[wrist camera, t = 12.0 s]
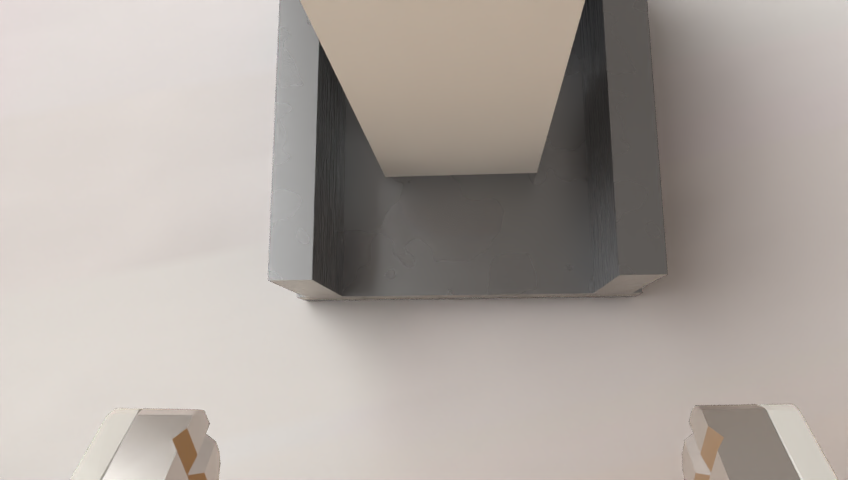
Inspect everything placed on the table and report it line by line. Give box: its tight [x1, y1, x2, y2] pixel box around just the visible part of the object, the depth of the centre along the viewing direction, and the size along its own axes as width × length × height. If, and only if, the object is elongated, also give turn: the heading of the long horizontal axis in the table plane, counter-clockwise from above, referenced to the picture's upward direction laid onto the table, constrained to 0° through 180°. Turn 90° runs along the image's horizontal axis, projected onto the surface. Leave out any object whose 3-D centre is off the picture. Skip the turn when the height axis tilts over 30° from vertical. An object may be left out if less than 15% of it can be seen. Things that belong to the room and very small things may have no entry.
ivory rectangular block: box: [300, 0, 585, 177], centre depth 17 cm, size 5×4×11 cm
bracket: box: [268, 0, 668, 300], centre depth 20 cm, size 11×12×8 cm
